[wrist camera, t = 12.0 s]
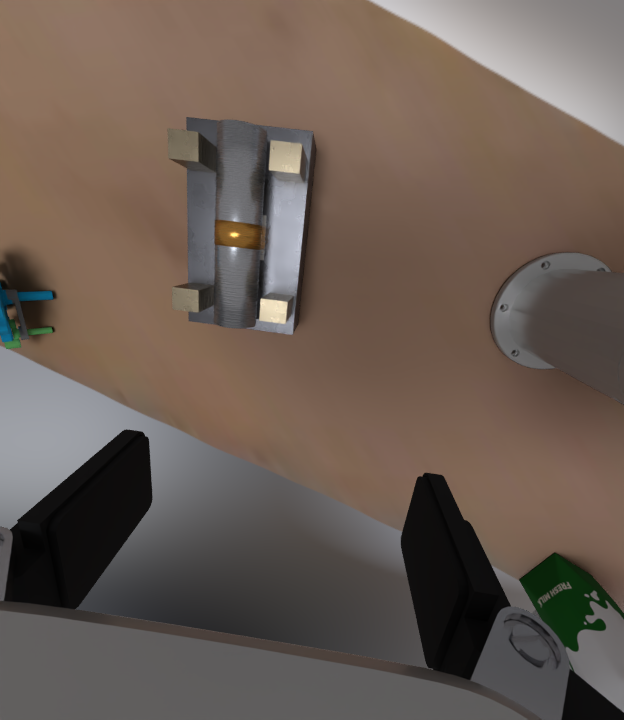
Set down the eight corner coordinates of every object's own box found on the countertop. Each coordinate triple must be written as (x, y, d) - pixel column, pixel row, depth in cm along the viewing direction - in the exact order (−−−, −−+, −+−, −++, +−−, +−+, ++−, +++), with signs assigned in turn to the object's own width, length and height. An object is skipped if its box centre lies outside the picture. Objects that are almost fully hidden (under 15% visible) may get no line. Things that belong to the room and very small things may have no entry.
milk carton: (554, 606, 50) (686, 825, 31) (508, 579, 49) (617, 789, 30) (600, 573, 47) (777, 791, 28) (554, 544, 46) (705, 751, 27)
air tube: (225, 134, 28) (208, 116, 24) (272, 140, 28) (262, 123, 24) (220, 316, 33) (206, 324, 29) (260, 320, 33) (251, 330, 29)
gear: (-29, 240, 36) (-34, 264, 30) (39, 242, 40) (48, 264, 34) (-2, 330, 41) (-1, 367, 35) (56, 325, 45) (67, 357, 39)
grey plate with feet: (316, 148, 32) (308, 112, 24) (298, 324, 38) (286, 345, 30) (208, 136, 33) (162, 96, 24) (206, 312, 39) (170, 330, 30)
